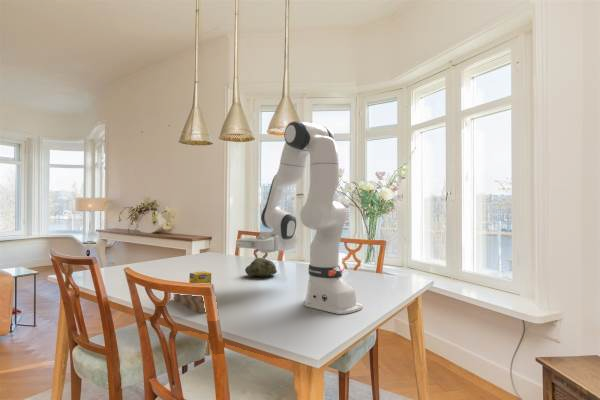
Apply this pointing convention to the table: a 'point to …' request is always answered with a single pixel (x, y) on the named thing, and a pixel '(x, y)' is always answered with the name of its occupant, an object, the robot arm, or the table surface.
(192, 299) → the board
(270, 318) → the table surface
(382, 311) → the table surface
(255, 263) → the decorative rock
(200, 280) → the supplement box
